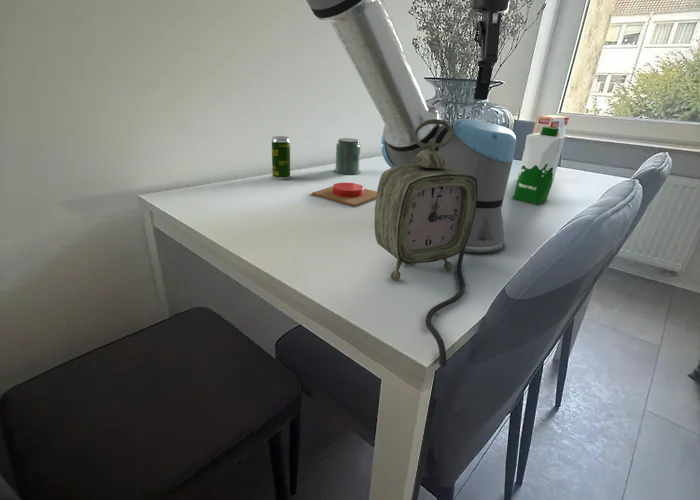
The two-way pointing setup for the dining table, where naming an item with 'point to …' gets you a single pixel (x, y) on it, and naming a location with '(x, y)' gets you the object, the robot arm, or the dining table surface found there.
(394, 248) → the tabletop clock
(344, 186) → the lid
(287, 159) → the beer can
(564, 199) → the dining table surface
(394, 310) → the dining table surface
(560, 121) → the cracker box
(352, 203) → the mat
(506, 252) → the dining table surface
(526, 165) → the milk carton
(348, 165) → the jar
